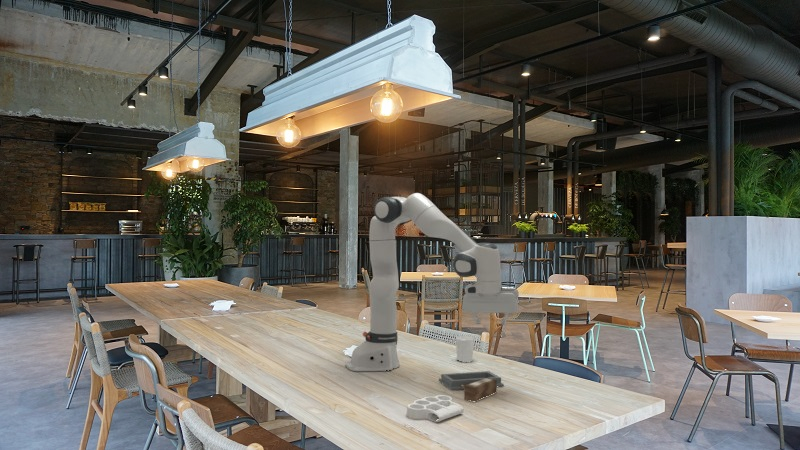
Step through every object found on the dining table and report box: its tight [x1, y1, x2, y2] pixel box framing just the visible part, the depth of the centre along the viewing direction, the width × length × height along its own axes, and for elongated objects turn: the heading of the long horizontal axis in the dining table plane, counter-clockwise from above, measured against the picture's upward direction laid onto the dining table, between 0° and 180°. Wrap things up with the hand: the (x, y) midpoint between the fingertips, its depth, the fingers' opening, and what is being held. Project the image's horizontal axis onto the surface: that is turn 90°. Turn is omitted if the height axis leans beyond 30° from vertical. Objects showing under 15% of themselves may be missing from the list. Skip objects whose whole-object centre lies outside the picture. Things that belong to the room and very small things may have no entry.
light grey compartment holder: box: [406, 394, 464, 423], centre depth 158 cm, size 3×18×15 cm
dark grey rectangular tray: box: [438, 370, 505, 391], centre depth 190 cm, size 21×12×3 cm, turn 108°
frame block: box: [464, 378, 498, 402], centre depth 176 cm, size 14×4×5 cm, turn 138°
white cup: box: [455, 336, 475, 363], centre depth 225 cm, size 8×8×10 cm
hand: (490, 324), depth 187 cm, fingers open, 8 cm apart
